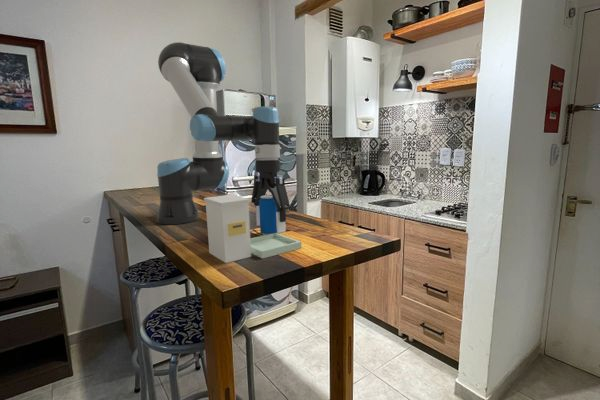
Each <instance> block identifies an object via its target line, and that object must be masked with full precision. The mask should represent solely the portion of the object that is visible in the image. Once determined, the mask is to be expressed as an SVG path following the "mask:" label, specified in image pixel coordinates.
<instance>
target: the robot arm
mask: <svg viewBox="0 0 600 400" xmlns="http://www.w3.org/2000/svg"><path fill="white" fill-rule="evenodd" d="M157 63H158V69H159V72H160V74H161V75H162V76H163V78H164V79H165V80H166V81H167V82H168V83H170V84H171V86H172V88H173V90H174V92H175V93H176V94H177V96H178V97H179V99H180V102H181V103H182V104H183V106H184V108H185V109H186V112H187V113H188V114H189V117H190V118H191V119H190V122H189V130H190V133H191V134H190V135H191V136H192V138H193V139H194V140H195V148H196V149H195V151H196V152H195V153H194V154H193V155H192V161H191V160H190V158H188V157H185V158H183V157H182V158H176V159H170V160H169V159H168V160H165V161H161V162H159V163H158V164H157V174H156V175H157V180H158V190H159V191H158V192H159V207H158V211H157V214H156V221H157V224H160V225H178V224H187V223H191V222H195V221H197V220H199V218H200V216H199V211H198V209H197V206H196V203H195V201H194V200H193V199H194V198H193V192H198V191H205V190H215V189H221V188H223V187H224V186H226V184H227V182H228V181H229V176H230V167H229V165H228V162H227V161H226V160H225V159H224V158H223V154H221V153H220V152H219V142H221V141H223V142H225V141H226V142H227V141H234V142H236V141H238V142H239V141H241V142H248V141H254V153H255V159H257V160H255V171H256V173H259V174H254V175H253V181H254V182H253V187H252V193H251V199H250V203H252V204H253V205H254V206H255V218H256V222H255V223H256V226H257V227H258V226H259V227H260V211H259V200H260V197H261V196H265V195H267V192H268V191H269V193H270V195H272V196H273V199H274V201H275V204H276V207H277V209H278V210H277V211H276V219H277V233H279V234H280V233H284V232H286V229H287V228H286V219H287V218H286V215H287V210H290V209H291V204H290V201H289V196H288V193H287V189H286V184H285V177H284V176H278V173H279V172H281V160H280V159H279V158H281V148H280V147H281V146H280V120H279V111H278V108H277V107H276V106H275V107H274V106H256V107H254V109H253V110H252V115H250V116H248V115H247V116H238V115H235V116H234V115H220V114H219V113H218V105H217V89H218V88H219V87H220V86H221V82H223V81H224V79H225V78H226V77H225V75H226V71H227V70H226V62H225V59H224V57H223V55H222V54H221V52H220V51H219V50H218V49H214V48H211V47H209V46H202V45H196V44H192V43H191V44H190V43H184V42H181V41H180V42H173V43H172V42H171V43H169V44H167V45H166V46H164V47H163V49H162V50H161V51H160V53H159V55H158V62H157Z"/></svg>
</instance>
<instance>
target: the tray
mask: <svg viewBox="0 0 600 400" xmlns="http://www.w3.org/2000/svg"><path fill="white" fill-rule="evenodd" d="M250 241H251V255H254V256H256V257H258V258H261V259H262V260H263V259H267V258H270V257H273V256H277V255H280V254H284V253H285V254H286V253H289V252H291V251H296V250H300V249H302V241H300V240H298V239H294V238H293V237H292V238H291V237H290V236H286V235H285V234H280V233H279V234H278V233H273V234H268V235H263V234H262V235H259V236H256V237H255V236H254V237H250Z"/></svg>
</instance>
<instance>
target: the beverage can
mask: <svg viewBox="0 0 600 400" xmlns="http://www.w3.org/2000/svg"><path fill="white" fill-rule="evenodd" d="M277 210H278V209H277V207H276V204H275V201H274V199H273V196H272V194H268V195H267V194H266V195H265V196H261V197H260V200H259V211H260V225H259V231H260V233H261V234H262V236H263V235H268V234H273V233H277V219H276V211H277ZM278 234H280V233H278Z"/></svg>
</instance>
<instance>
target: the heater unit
mask: <svg viewBox="0 0 600 400" xmlns="http://www.w3.org/2000/svg"><path fill="white" fill-rule="evenodd" d="M203 201H204V202H205V211H206V212H205V213H206V224H207V237H208V238H207V239H208V241H207V242H208V252H209V254H210V255H212V256H213V257H215V258H217V259H218V260H220V261H221V262H224V263H225V264H228V263H231V262H235V261H239V260H240V261H241V260H242V259H243V260H244V259H248V258H251V257H252V253H251V241H250V238H251V227H250V226H251V223H250V207H249V204H250V203H251V199H250V198H246V197H242V196H238V195H235V194H234V195H233V194H226V195H225V194H224V195H218V196H209V197H208V196H207V197H203Z"/></svg>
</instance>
